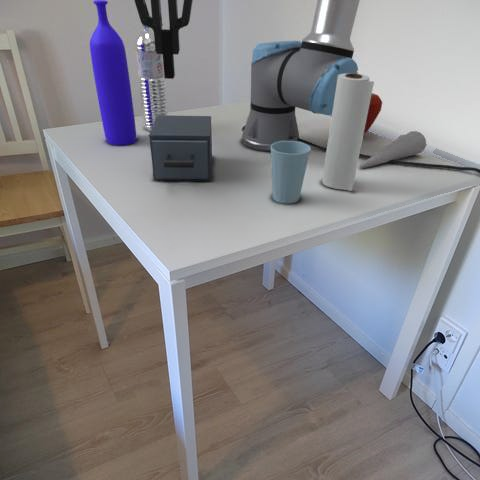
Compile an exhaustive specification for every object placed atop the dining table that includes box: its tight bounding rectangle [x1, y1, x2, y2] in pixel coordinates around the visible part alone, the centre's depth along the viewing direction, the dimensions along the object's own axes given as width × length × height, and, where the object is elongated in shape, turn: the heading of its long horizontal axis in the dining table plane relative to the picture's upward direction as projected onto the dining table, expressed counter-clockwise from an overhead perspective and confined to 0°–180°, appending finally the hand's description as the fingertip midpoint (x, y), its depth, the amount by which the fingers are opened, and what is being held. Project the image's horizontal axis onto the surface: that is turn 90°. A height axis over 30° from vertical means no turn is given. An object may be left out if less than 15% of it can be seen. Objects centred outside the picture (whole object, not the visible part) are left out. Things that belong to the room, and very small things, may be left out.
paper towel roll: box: [321, 73, 375, 192], centre depth 87 cm, size 7×6×21 cm
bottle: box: [89, 0, 137, 146], centre depth 104 cm, size 8×8×30 cm
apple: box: [363, 92, 383, 135], centre depth 118 cm, size 11×11×12 cm
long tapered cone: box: [359, 130, 427, 169], centre depth 104 cm, size 6×6×19 cm
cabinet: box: [148, 114, 213, 182], centre depth 97 cm, size 15×13×10 cm
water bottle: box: [134, 23, 168, 132], centre depth 114 cm, size 7×7×25 cm
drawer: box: [152, 139, 208, 179], centre depth 93 cm, size 18×11×8 cm, turn 2°
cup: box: [270, 141, 311, 205], centre depth 85 cm, size 8×8×10 cm
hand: (169, 76), depth 72 cm, fingers closed
